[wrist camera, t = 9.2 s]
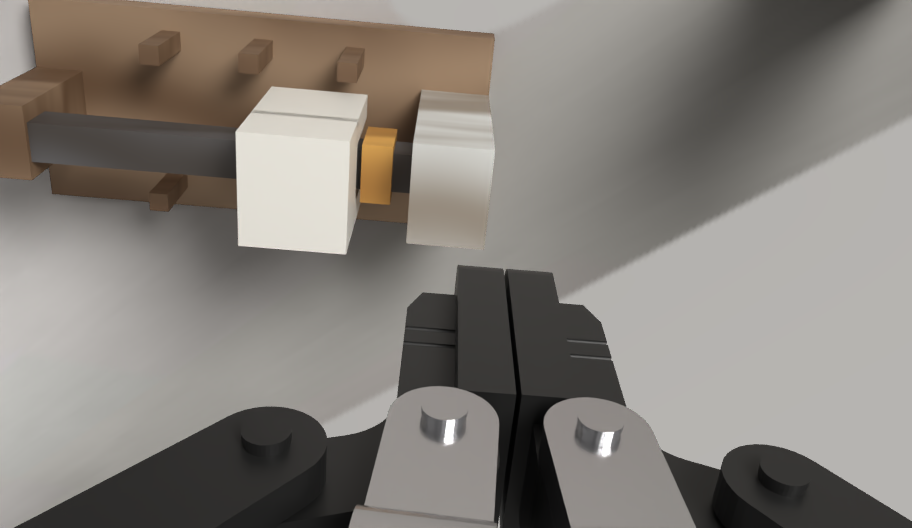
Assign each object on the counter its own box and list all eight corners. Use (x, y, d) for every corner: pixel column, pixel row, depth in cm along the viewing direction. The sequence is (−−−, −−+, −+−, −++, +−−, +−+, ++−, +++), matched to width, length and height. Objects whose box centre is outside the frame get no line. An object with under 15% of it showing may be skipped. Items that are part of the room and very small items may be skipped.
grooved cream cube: (271, 86, 36) (235, 131, 30) (367, 94, 36) (350, 141, 30) (272, 185, 38) (238, 245, 32) (363, 192, 38) (346, 254, 32)
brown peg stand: (40, -8, 38) (-76, 31, 29) (493, 33, 38) (502, 82, 30) (62, 185, 41) (-34, 265, 33) (474, 219, 42) (477, 306, 34)
